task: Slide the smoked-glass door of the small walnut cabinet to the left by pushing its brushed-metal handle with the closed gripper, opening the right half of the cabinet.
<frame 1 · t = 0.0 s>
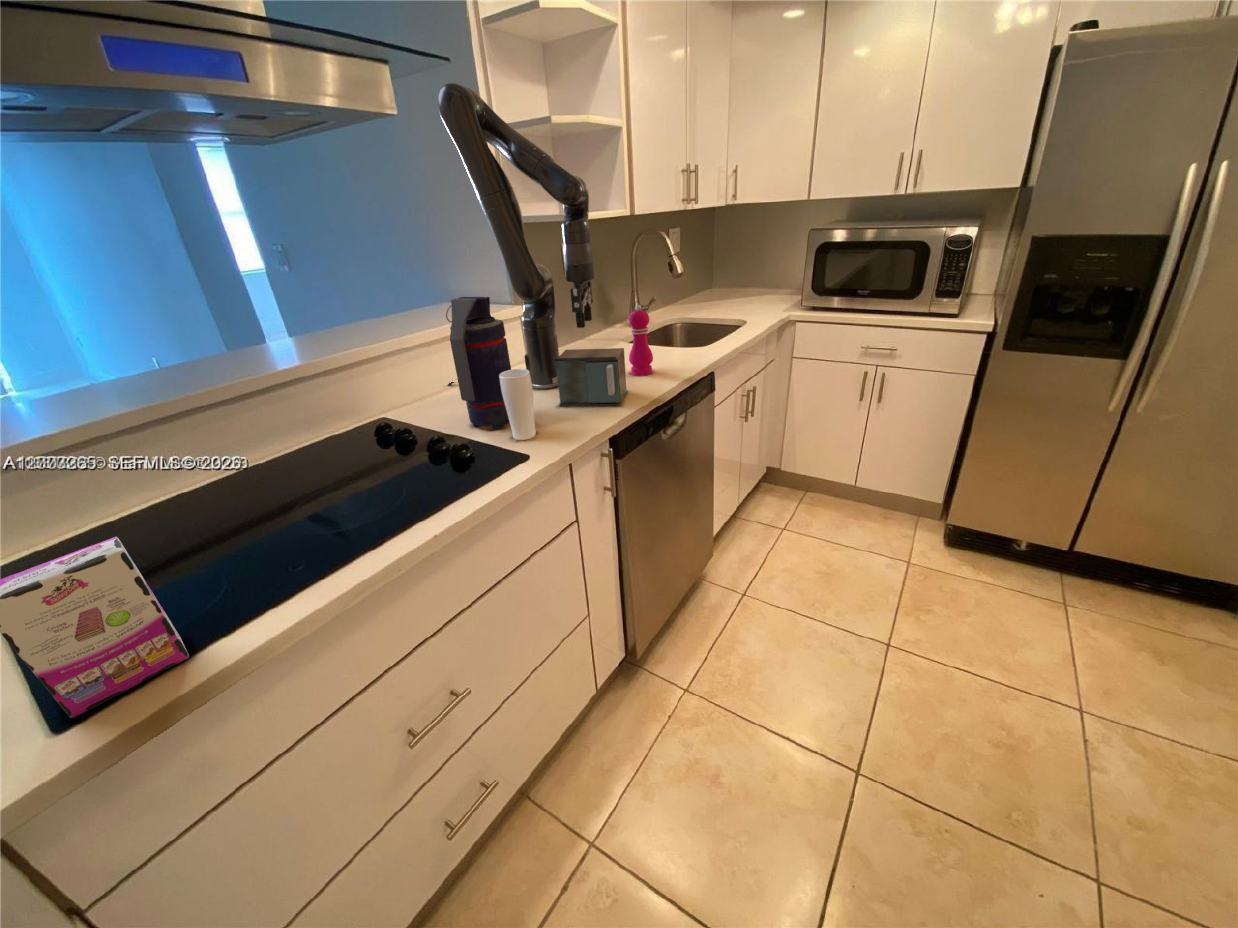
hand: (584, 324, 144), 17 cm above the table, tool pointing down, fingers open, 8 cm apart
cabinet: (594, 397, 141), on the table
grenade: (492, 423, 129), on the table
drinking glass: (524, 437, 120), on the table
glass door: (601, 384, 130), point 6 cm above the table, slide at 0.0 cm
pepper mill: (641, 373, 158), on the table
candy bar box: (131, 678, 62), on the table
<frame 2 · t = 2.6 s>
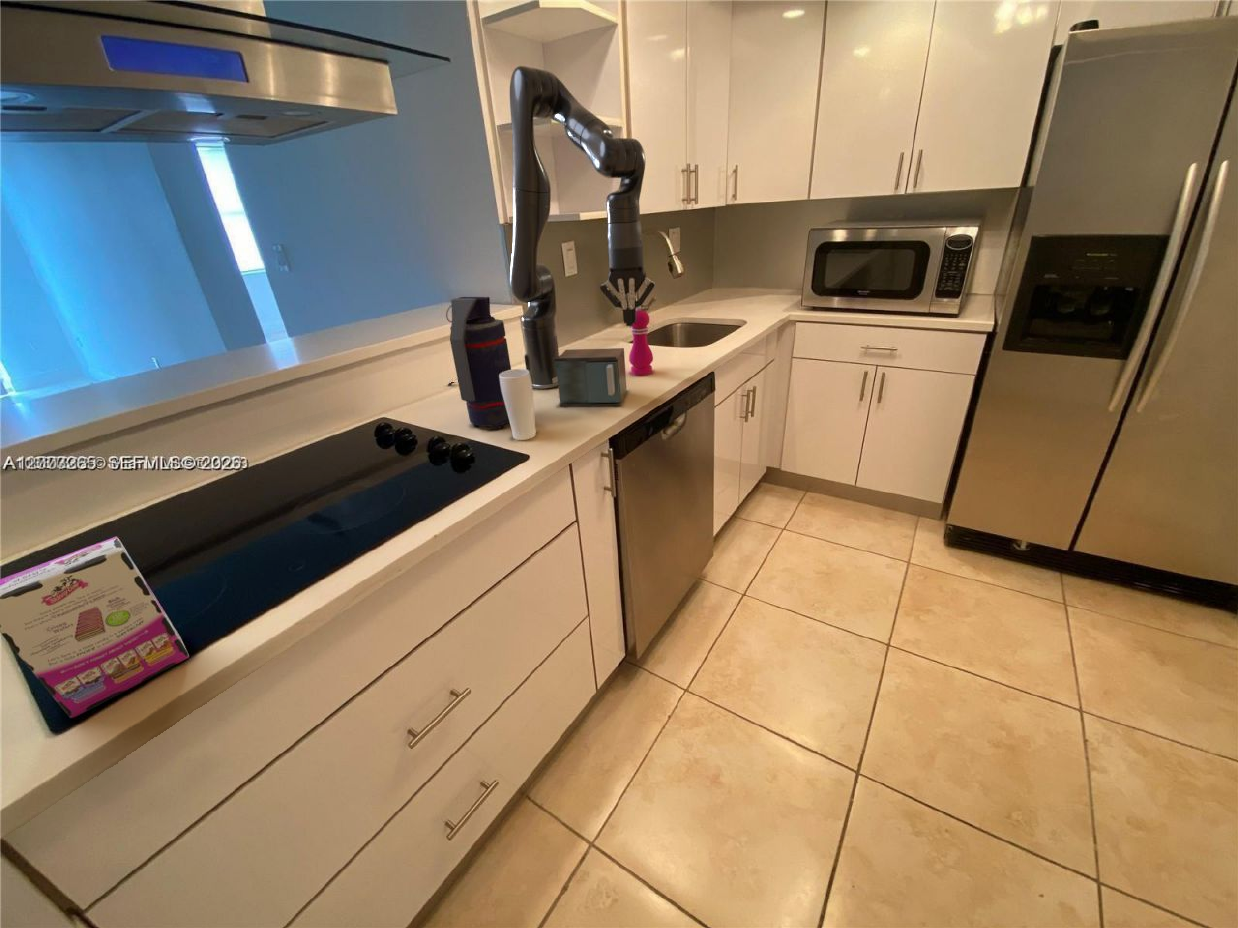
hand: (630, 325, 122), 21 cm above the table, tool pointing down, fingers closed
nothing on the table moved.
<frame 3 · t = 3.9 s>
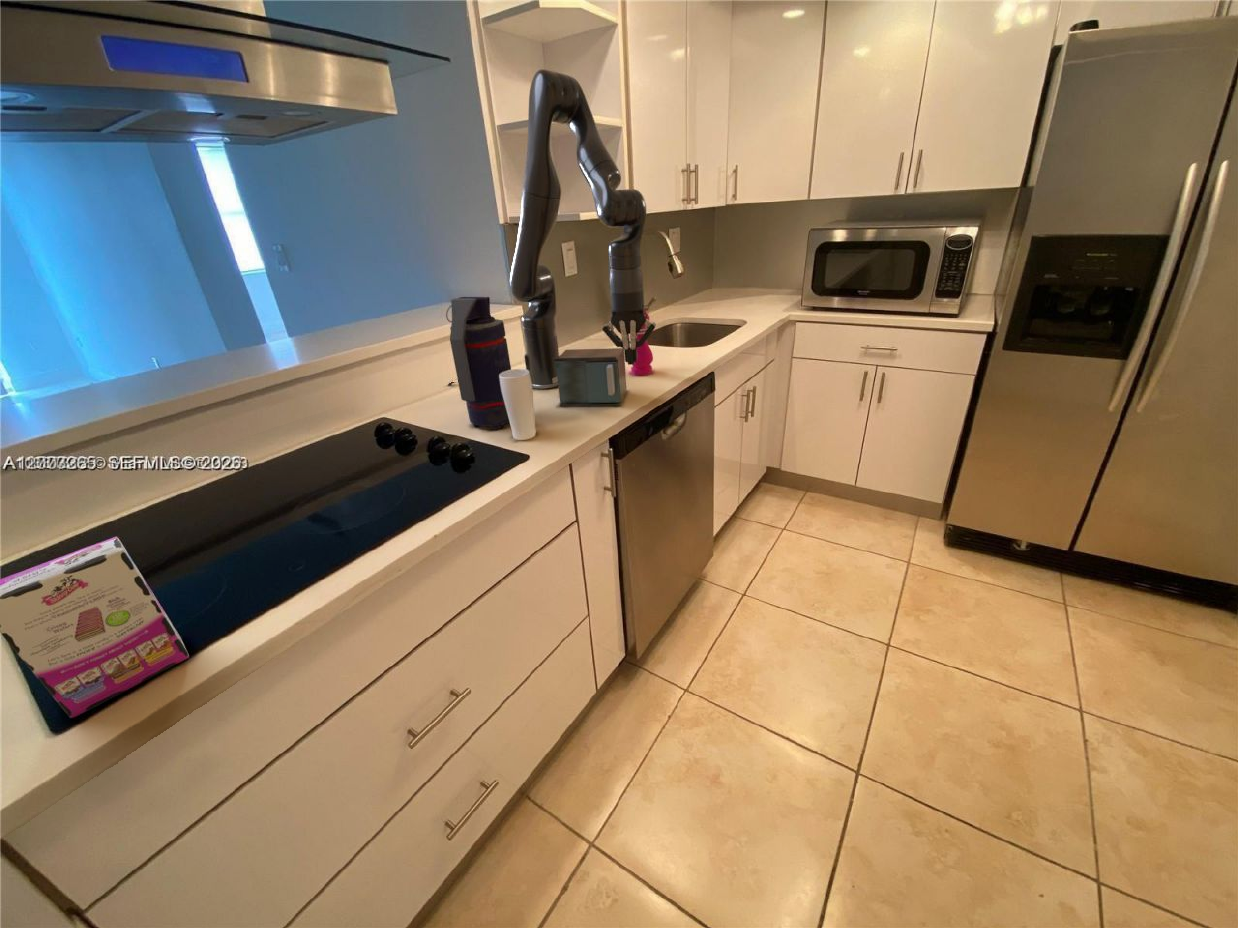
hand: (631, 363, 126), 12 cm above the table, tool pointing down, fingers closed
nothing on the table moved.
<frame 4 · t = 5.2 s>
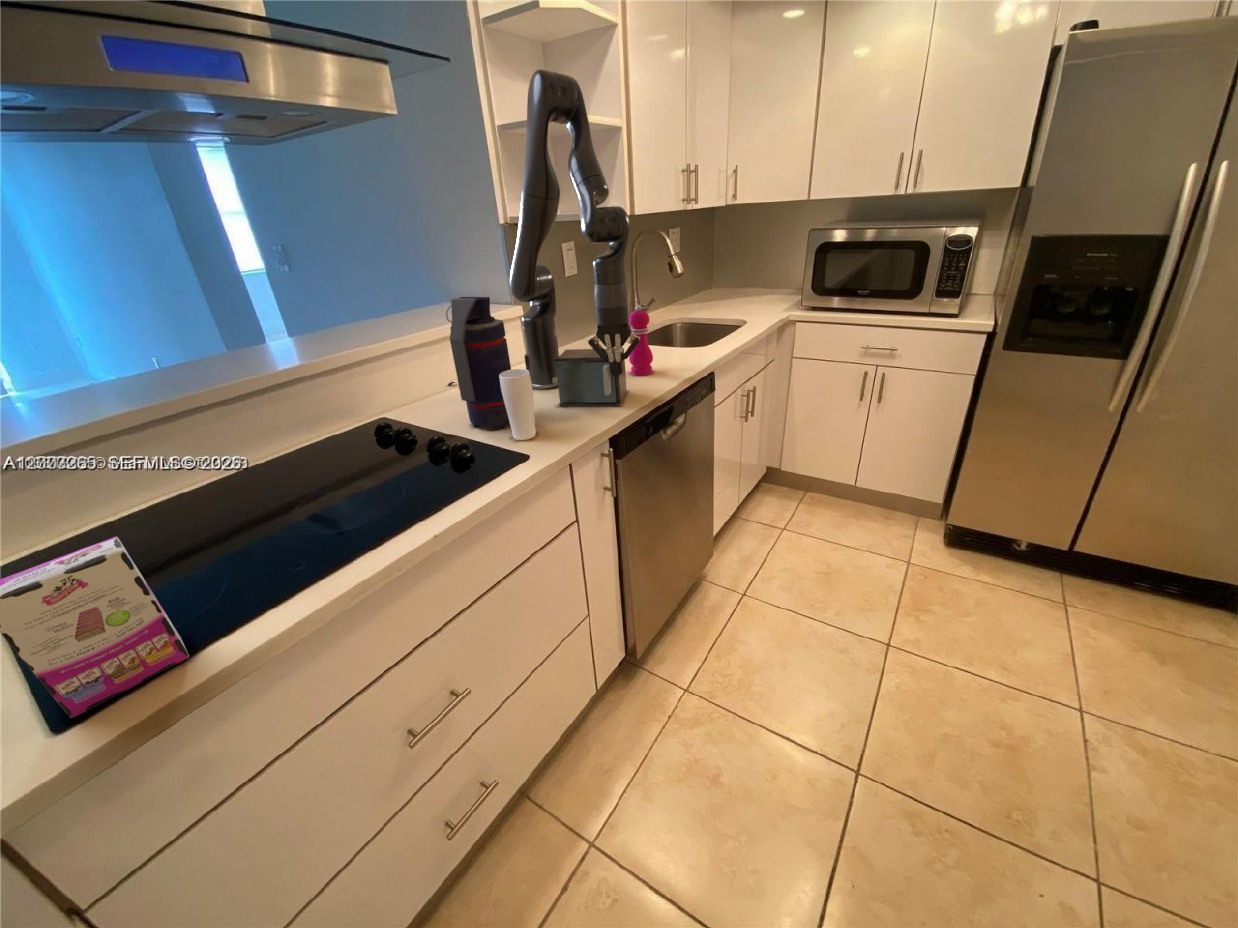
hand: (616, 375, 128), 9 cm above the table, tool pointing down, fingers closed
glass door: (597, 384, 130), point 6 cm above the table, slide at 0.9 cm, touching gripper
everything else where it was.
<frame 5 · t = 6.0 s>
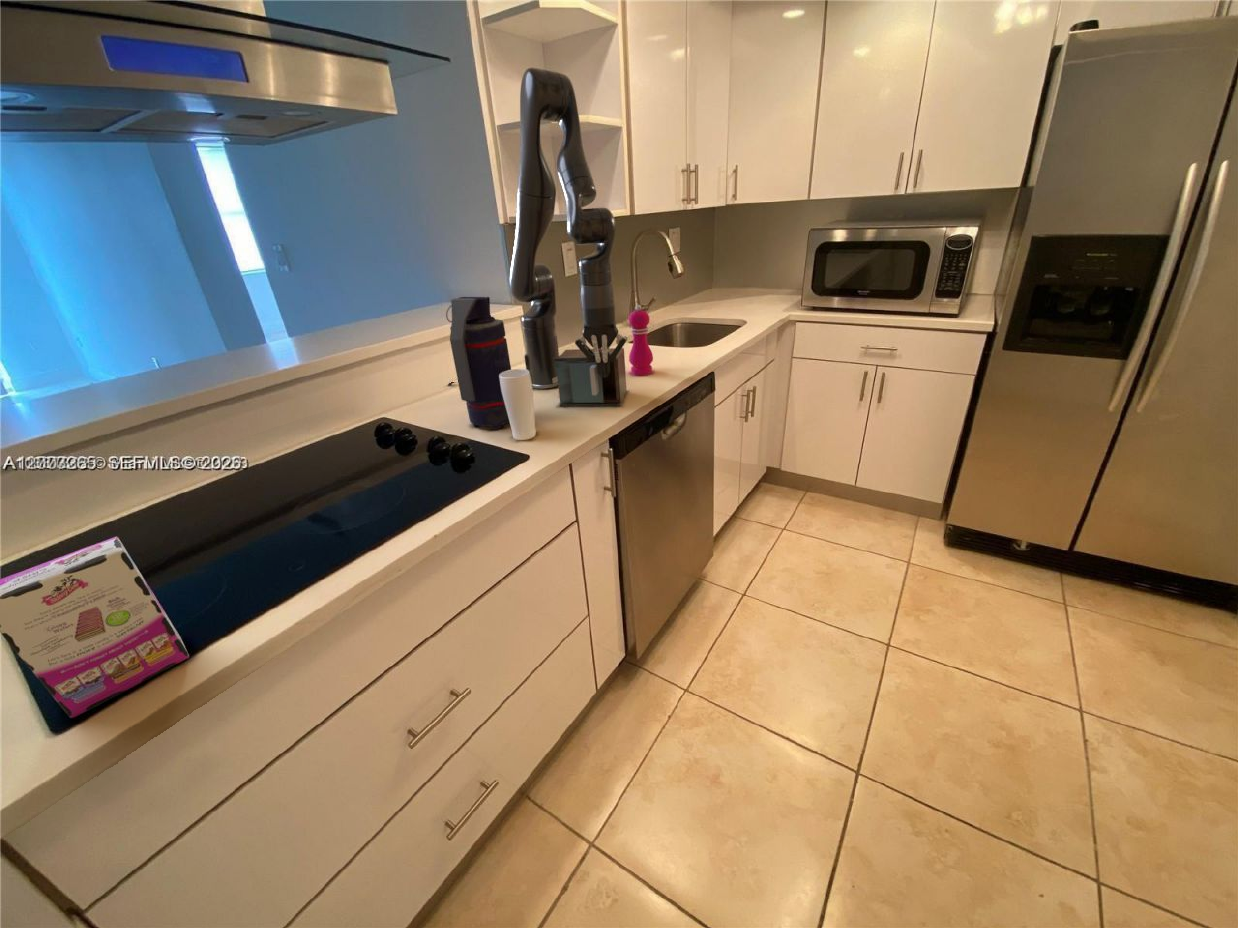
hand: (604, 376, 128), 9 cm above the table, tool pointing down, fingers closed
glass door: (585, 384, 131), point 6 cm above the table, slide at 4.2 cm, touching gripper
everything else where it was.
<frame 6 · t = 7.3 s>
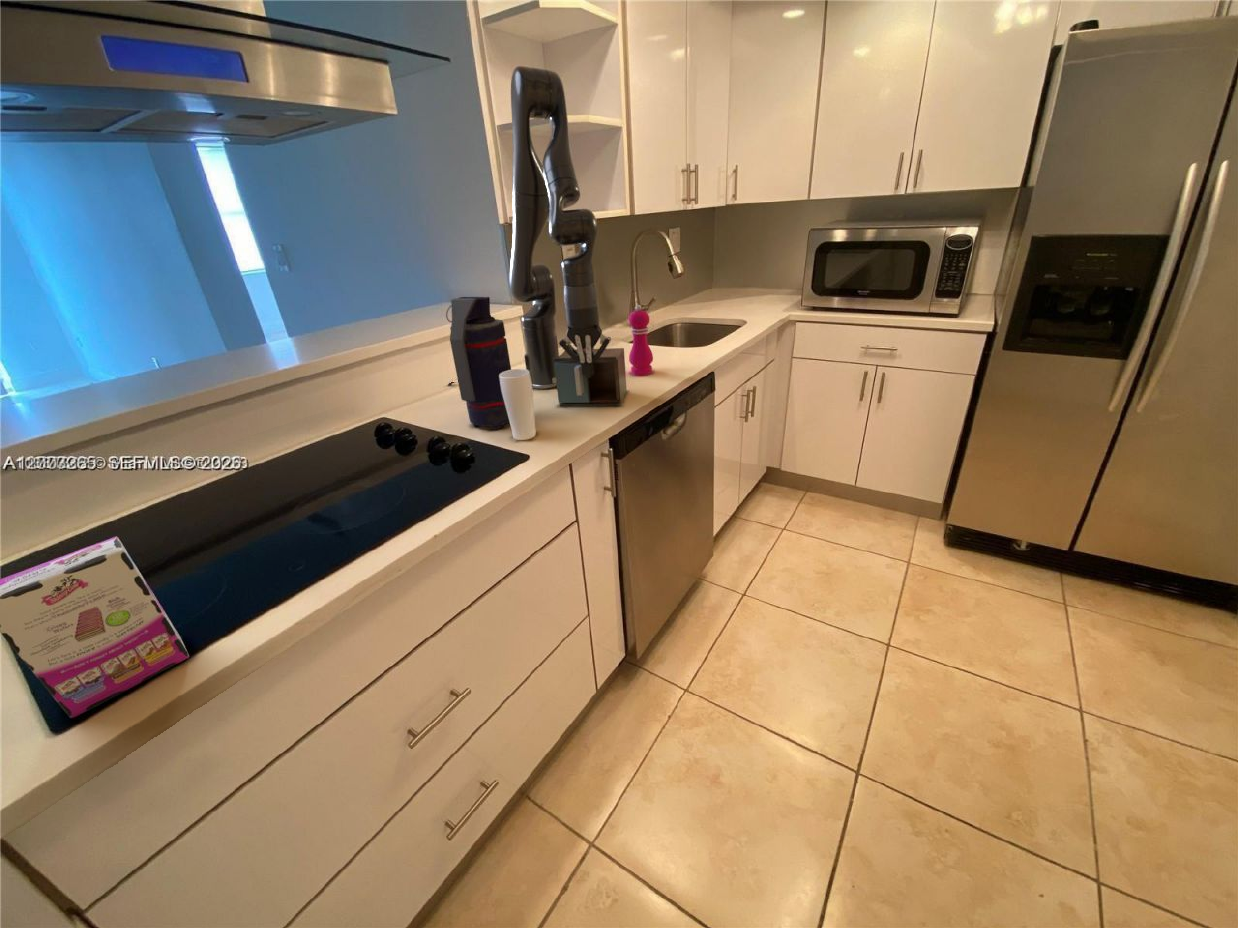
hand: (588, 376, 129), 9 cm above the table, tool pointing down, fingers closed
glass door: (570, 385, 132), point 6 cm above the table, slide at 8.1 cm, touching gripper
everything else where it was.
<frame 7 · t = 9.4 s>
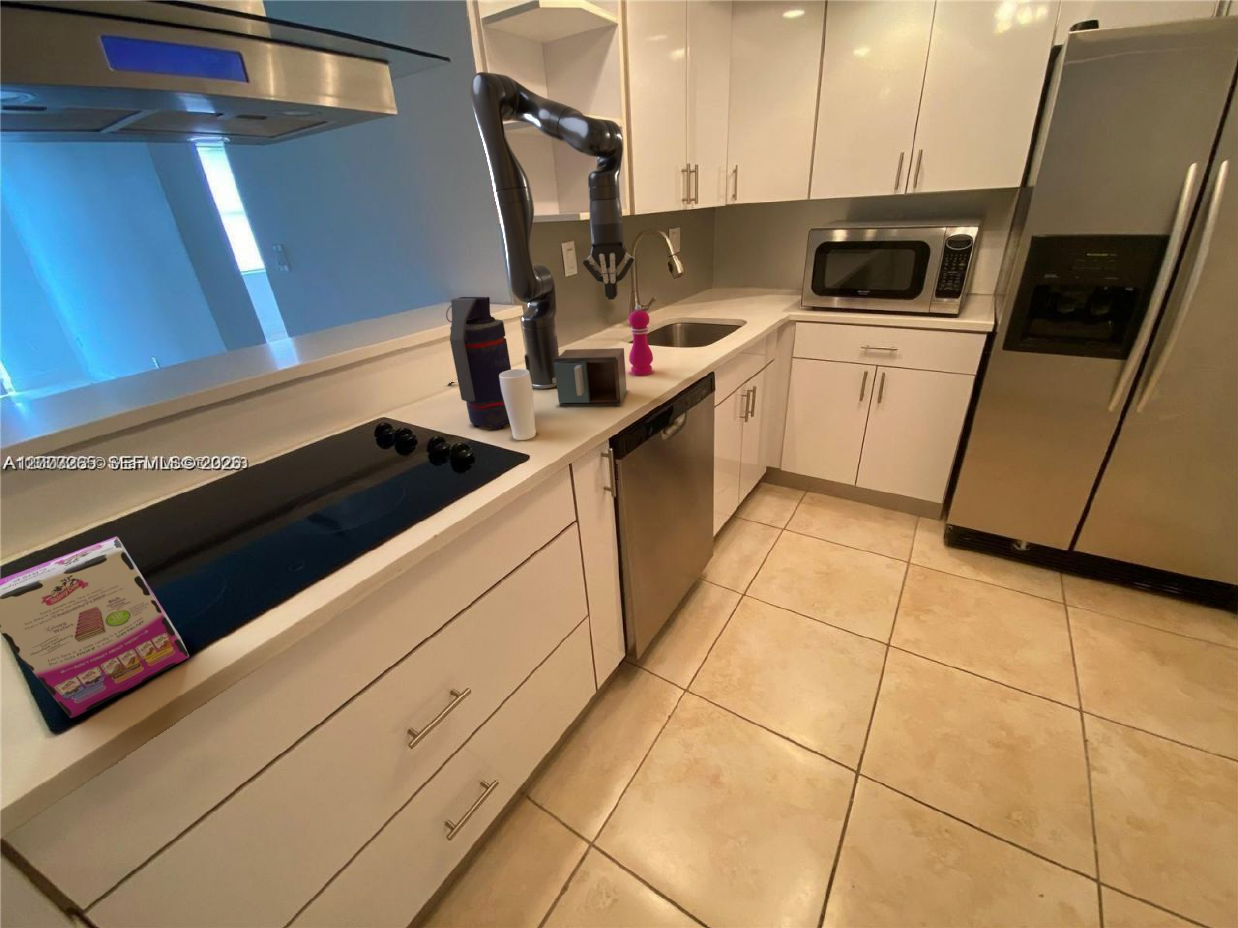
hand: (611, 299, 128), 25 cm above the table, tool pointing down, fingers closed
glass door: (570, 385, 132), point 6 cm above the table, slide at 8.0 cm
everything else where it was.
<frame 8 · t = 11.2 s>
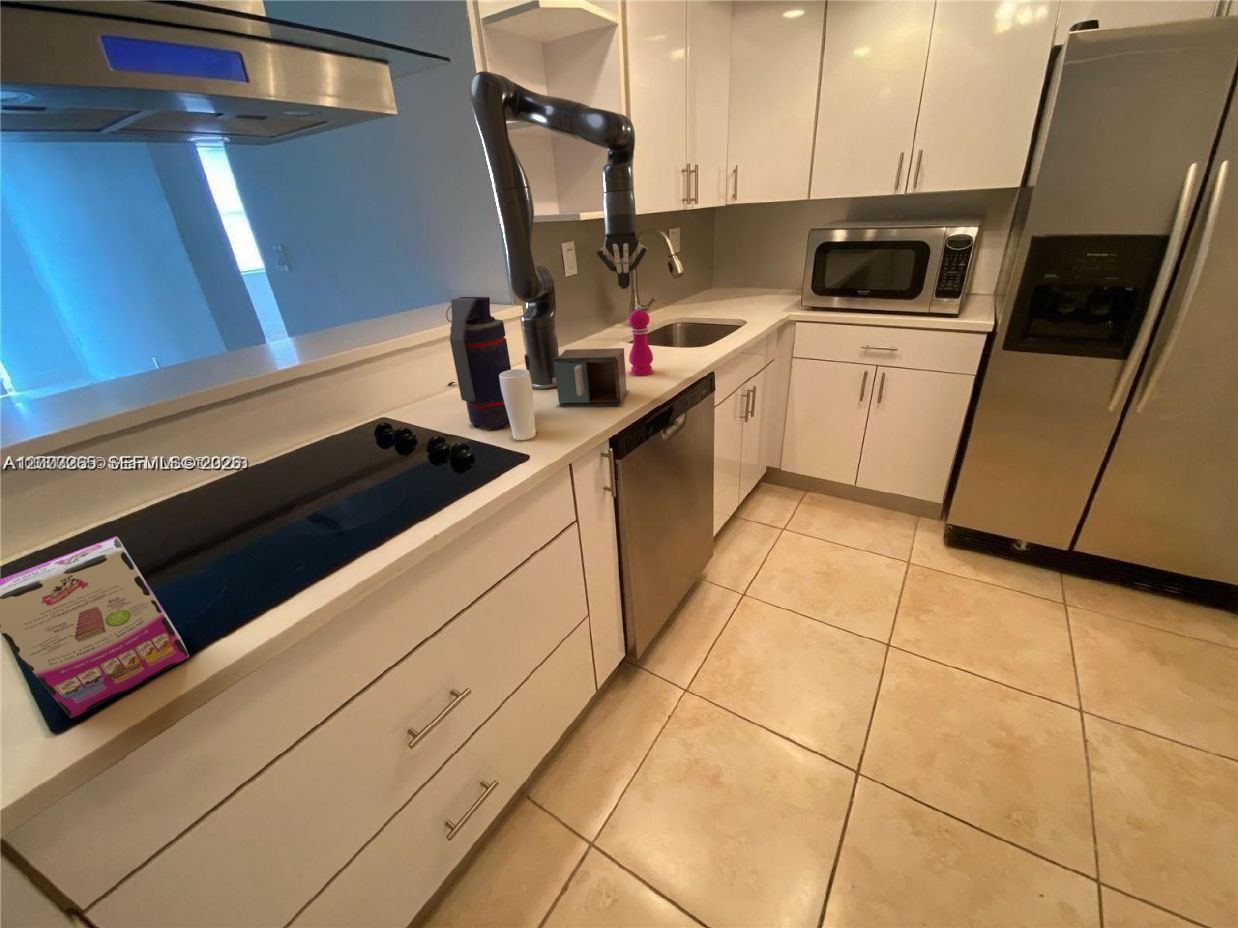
hand: (624, 288, 132), 27 cm above the table, tool pointing down, fingers closed
nothing on the table moved.
at the end: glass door slide at 8.0 cm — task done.
